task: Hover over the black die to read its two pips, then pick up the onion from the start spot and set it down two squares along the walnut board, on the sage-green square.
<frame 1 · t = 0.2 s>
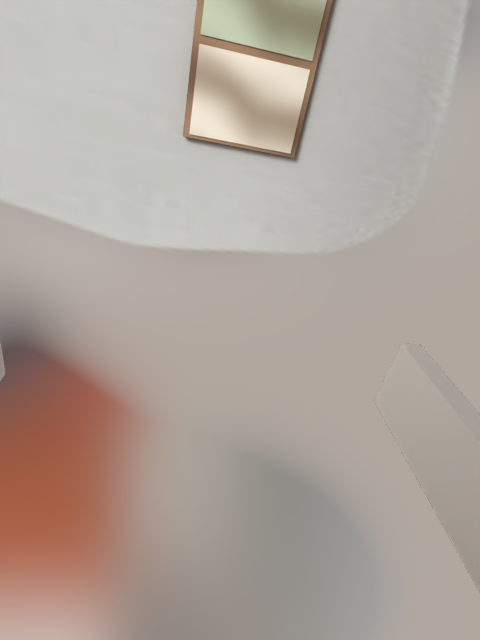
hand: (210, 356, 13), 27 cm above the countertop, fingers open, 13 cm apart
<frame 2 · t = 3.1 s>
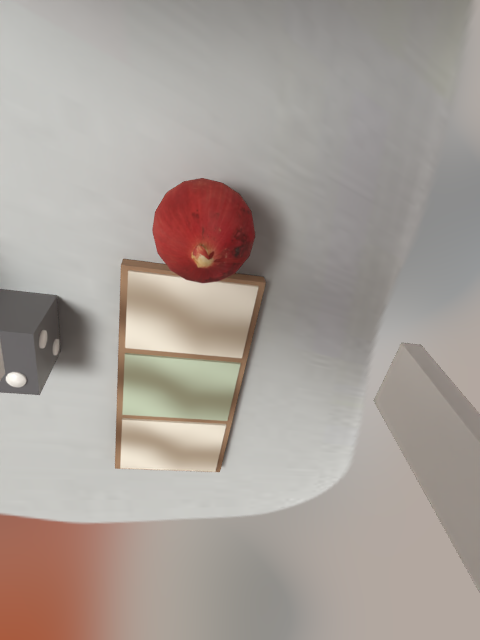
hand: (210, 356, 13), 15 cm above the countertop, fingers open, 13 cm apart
onion: (203, 212, 26), on the countertop
die: (23, 320, 29), on the countertop
board: (180, 380, 33), on the countertop
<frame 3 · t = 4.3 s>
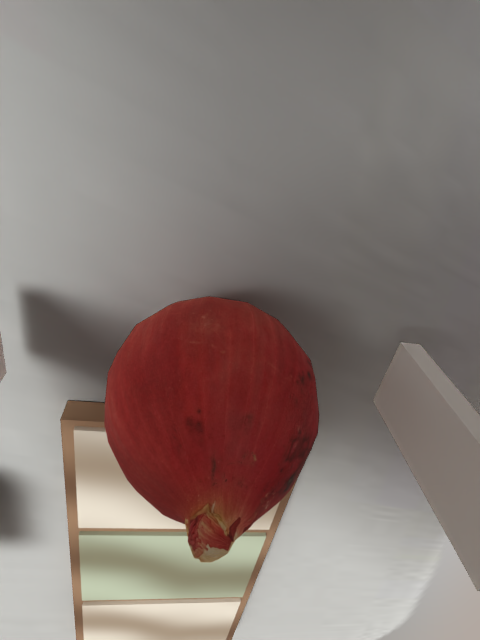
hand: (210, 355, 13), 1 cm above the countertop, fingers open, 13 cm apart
onion: (209, 325, 14), on the countertop
board: (171, 546, 22), on the countertop
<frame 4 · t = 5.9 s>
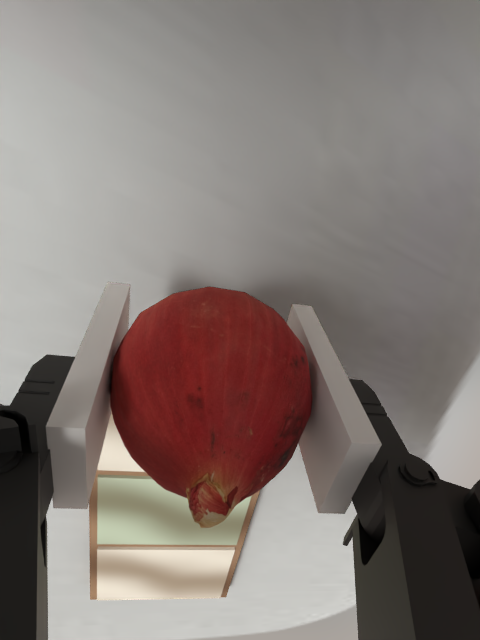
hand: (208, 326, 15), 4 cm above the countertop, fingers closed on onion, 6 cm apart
onion: (208, 317, 15), point 3 cm above the countertop, touching gripper
board: (174, 497, 25), on the countertop
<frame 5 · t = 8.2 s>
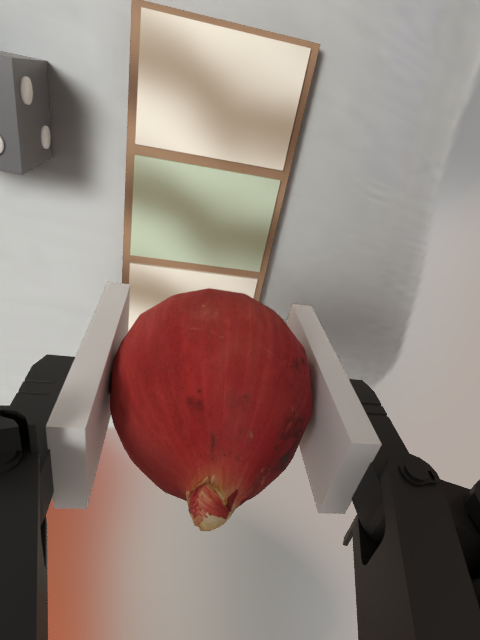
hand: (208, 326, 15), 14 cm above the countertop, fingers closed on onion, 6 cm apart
onion: (208, 318, 15), point 14 cm above the countertop, touching gripper
die: (3, 102, 22), on the countertop
board: (202, 213, 27), on the countertop
when the fingers open (2 cm above the countertop, at t = 10.6 s): onion stays where it is, resting on board.
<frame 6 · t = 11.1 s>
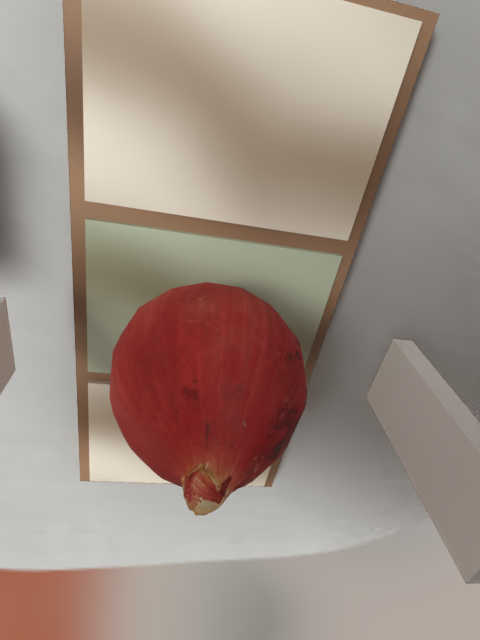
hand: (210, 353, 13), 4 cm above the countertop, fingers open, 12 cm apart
onion: (207, 312, 15), point 1 cm above the countertop, touching board
board: (207, 302, 16), on the countertop
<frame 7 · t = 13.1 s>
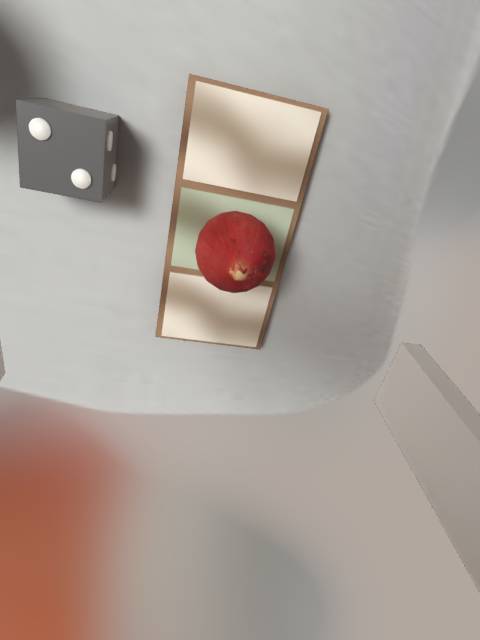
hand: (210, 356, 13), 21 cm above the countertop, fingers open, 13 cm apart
onion: (231, 235, 32), point 1 cm above the countertop, touching board
die: (81, 145, 28), on the countertop
board: (230, 233, 33), on the countertop
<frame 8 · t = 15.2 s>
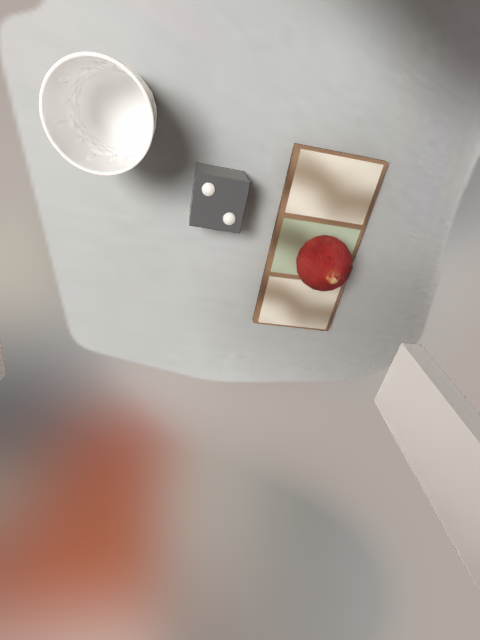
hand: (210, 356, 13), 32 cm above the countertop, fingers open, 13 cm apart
onion: (314, 249, 45), point 1 cm above the countertop, touching board
white cup: (120, 108, 37), on the countertop
die: (216, 191, 41), on the countertop
board: (312, 247, 46), on the countertop
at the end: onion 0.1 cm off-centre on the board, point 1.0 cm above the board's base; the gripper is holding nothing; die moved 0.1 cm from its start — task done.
